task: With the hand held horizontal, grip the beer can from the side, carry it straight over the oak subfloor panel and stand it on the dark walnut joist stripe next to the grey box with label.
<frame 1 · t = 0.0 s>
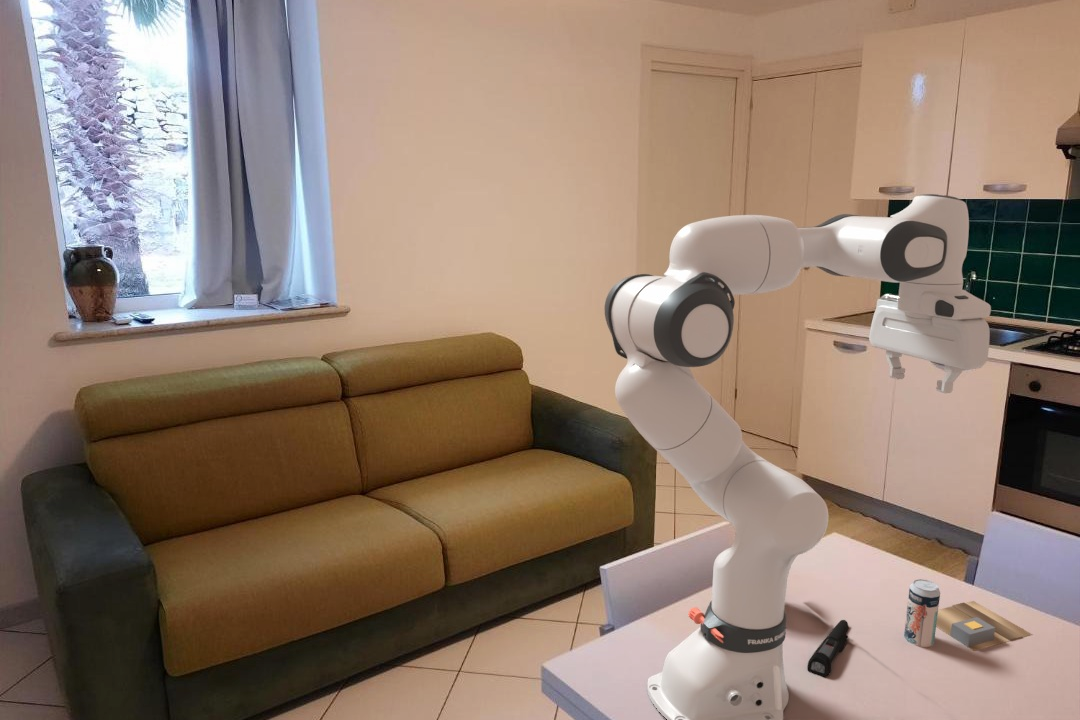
hand: (919, 385, 122), 48 cm above the table, tool pointing down, fingers open, 8 cm apart
grey box with label: (971, 637, 133), point 1 cm above the table, touching subfloor panel
subfloor panel: (972, 631, 137), on the table
beer can: (917, 647, 133), on the table
electric trimmer: (828, 655, 131), on the table
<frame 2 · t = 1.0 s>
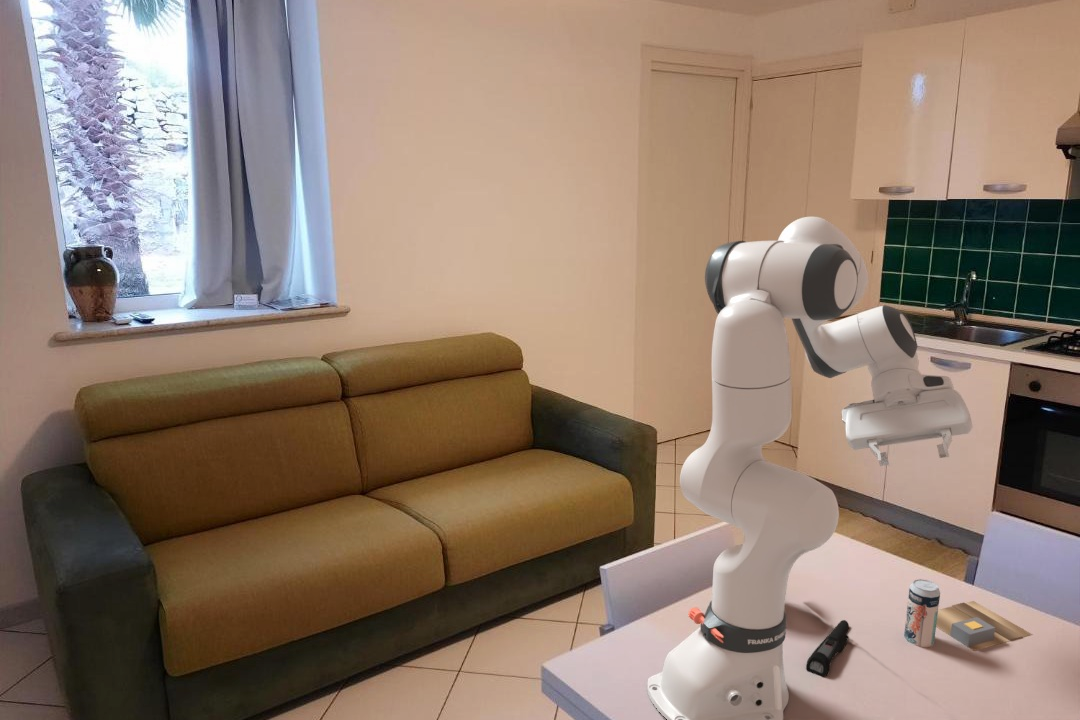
hand: (913, 459, 129), 34 cm above the table, tool tilted 55°, fingers open, 8 cm apart
nothing on the table moved.
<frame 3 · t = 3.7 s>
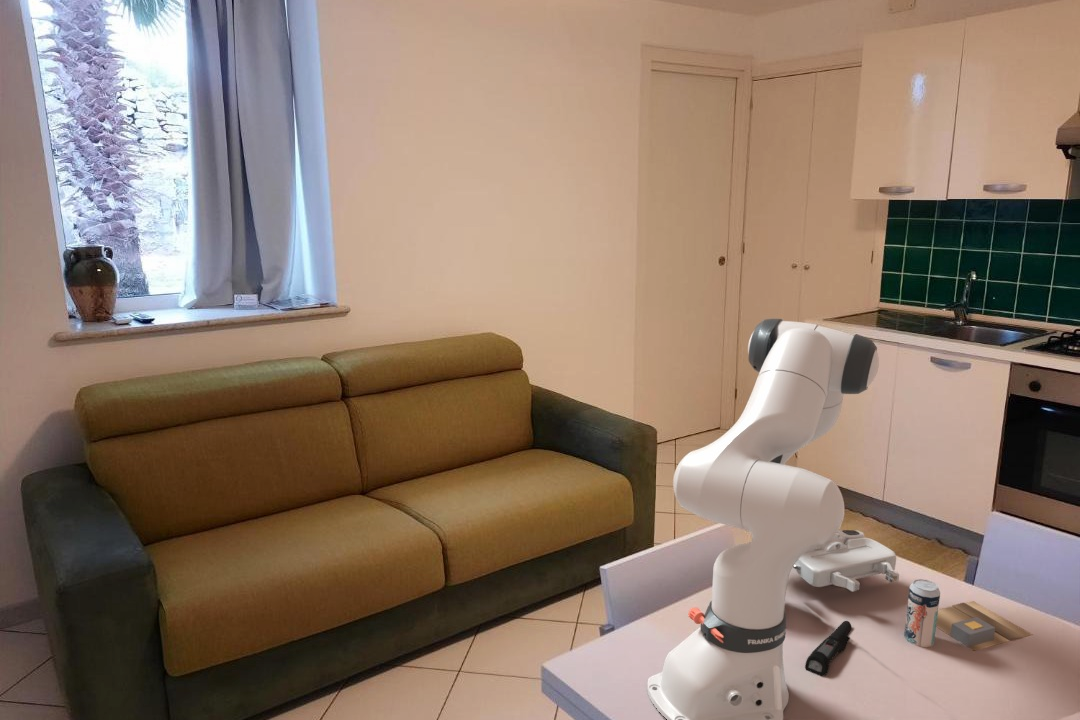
hand: (876, 582, 141), 7 cm above the table, tool horizontal, fingers open, 8 cm apart
nothing on the table moved.
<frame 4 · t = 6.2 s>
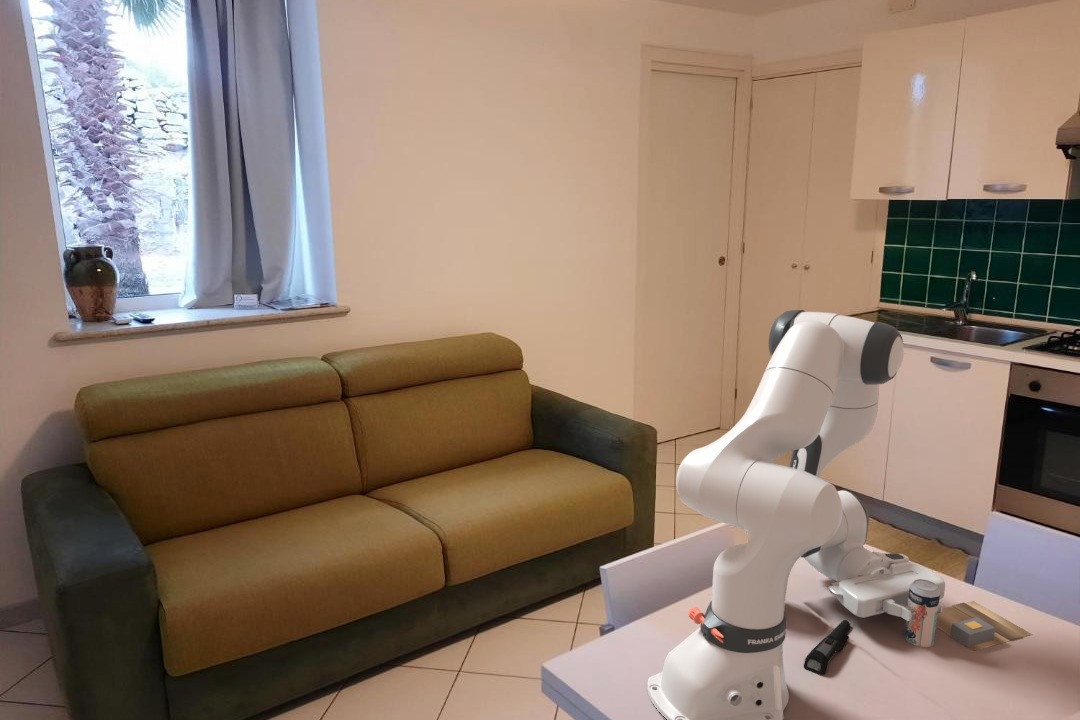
hand: (926, 613, 131), 7 cm above the table, tool horizontal, fingers closed on beer can, 5 cm apart
beer can: (917, 647, 133), on the table, touching gripper
everything else where it was.
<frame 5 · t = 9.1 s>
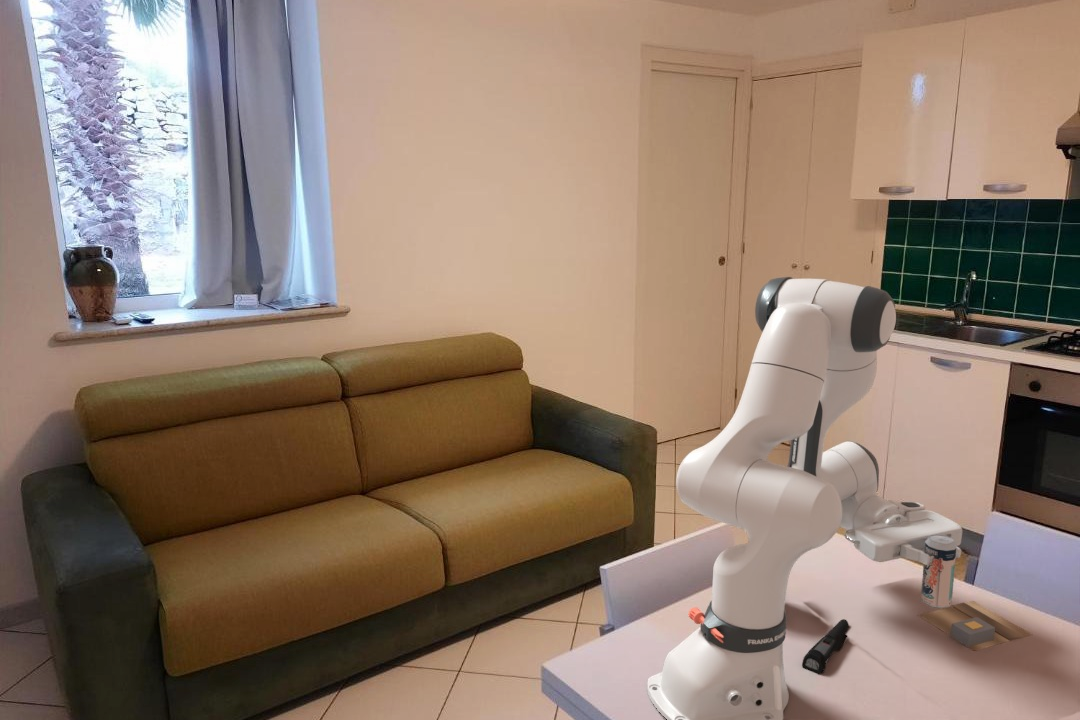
hand: (944, 557, 130), 17 cm above the table, tool horizontal, fingers closed on beer can, 5 cm apart
beer can: (935, 604, 132), point 8 cm above the table, touching gripper
everything else where it was.
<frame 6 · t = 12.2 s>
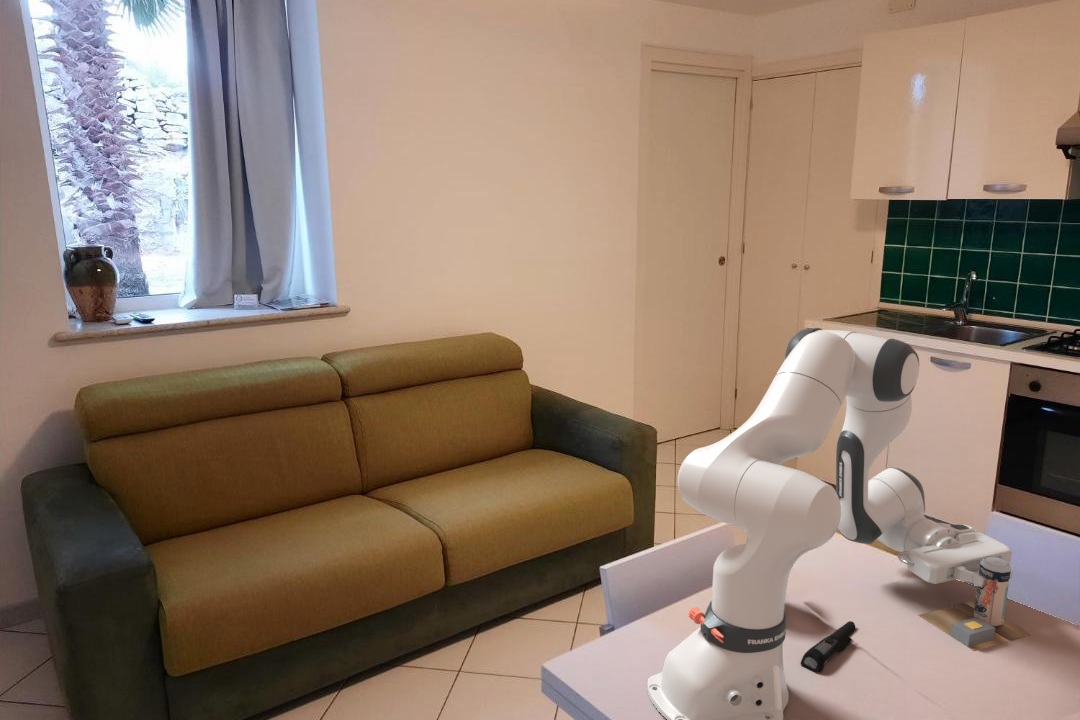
hand: (997, 579, 135), 10 cm above the table, tool horizontal, fingers closed on beer can, 5 cm apart
beer can: (987, 621, 138), point 2 cm above the table, touching gripper, subfloor panel
when the fingers open (10 cm above the table, at t = 12.7 s): beer can stays where it is, resting on subfloor panel.
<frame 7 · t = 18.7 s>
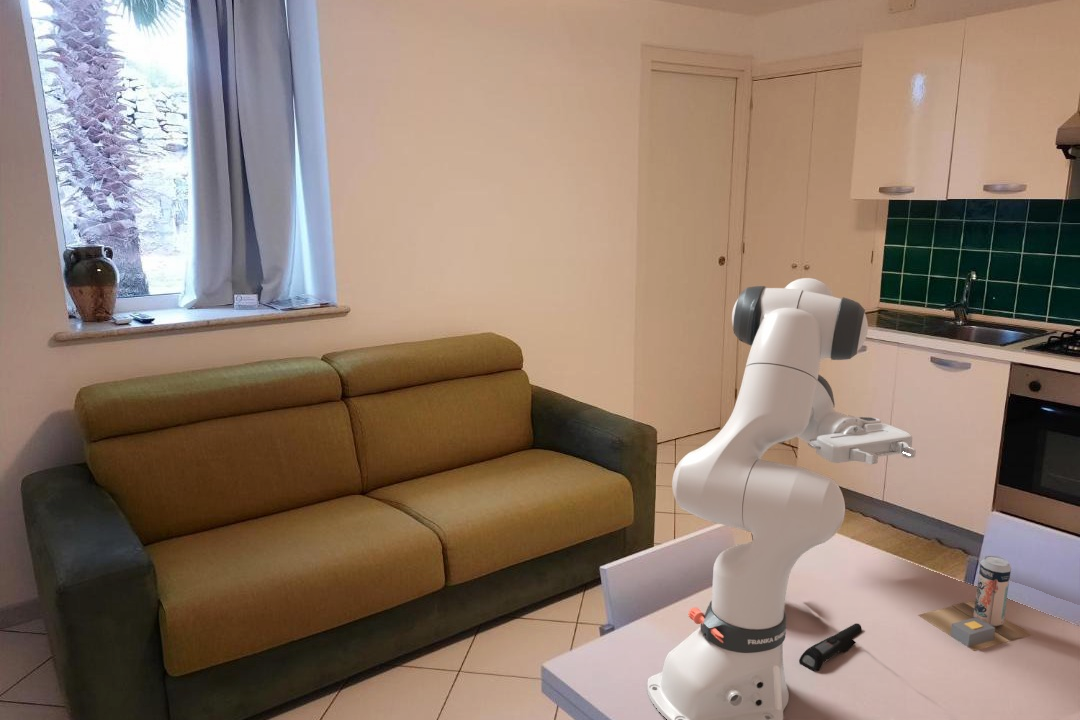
hand: (894, 457, 147), 28 cm above the table, tool horizontal, fingers open, 8 cm apart
beer can: (987, 621, 138), point 2 cm above the table, touching subfloor panel
at the end: beer can 0.3 cm from the target spot, point 1.5 cm above the table; beer can tilted 0°; the gripper is holding nothing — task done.
